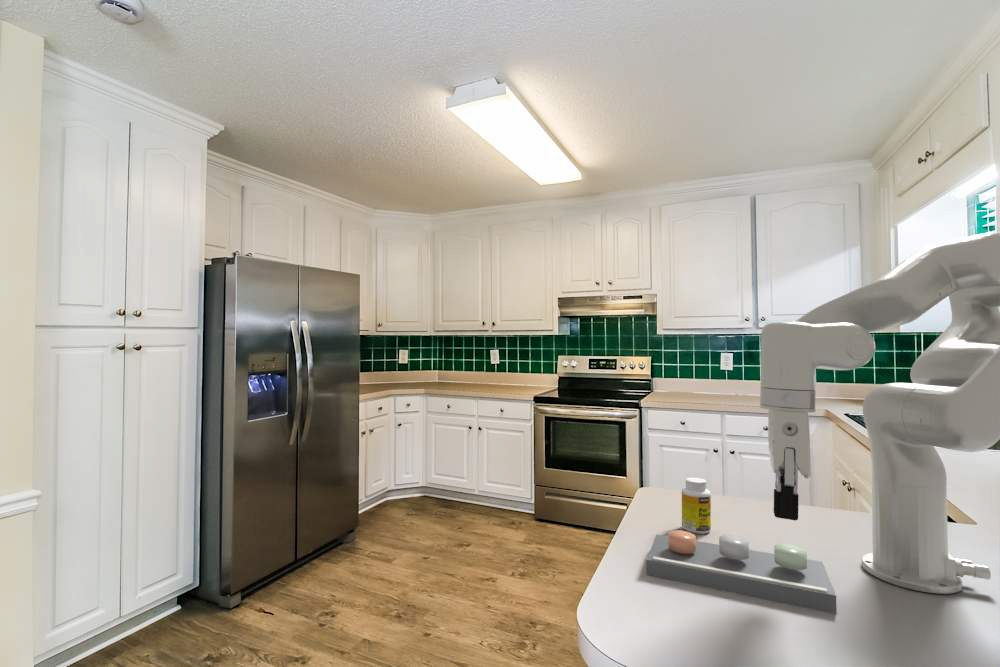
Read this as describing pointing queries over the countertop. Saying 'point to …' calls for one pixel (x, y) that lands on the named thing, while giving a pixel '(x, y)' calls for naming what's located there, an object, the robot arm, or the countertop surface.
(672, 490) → the countertop surface
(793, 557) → the sage button
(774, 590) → the button panel
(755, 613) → the countertop surface
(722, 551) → the grey button
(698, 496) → the supplement bottle
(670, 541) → the terracotta button
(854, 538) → the countertop surface
